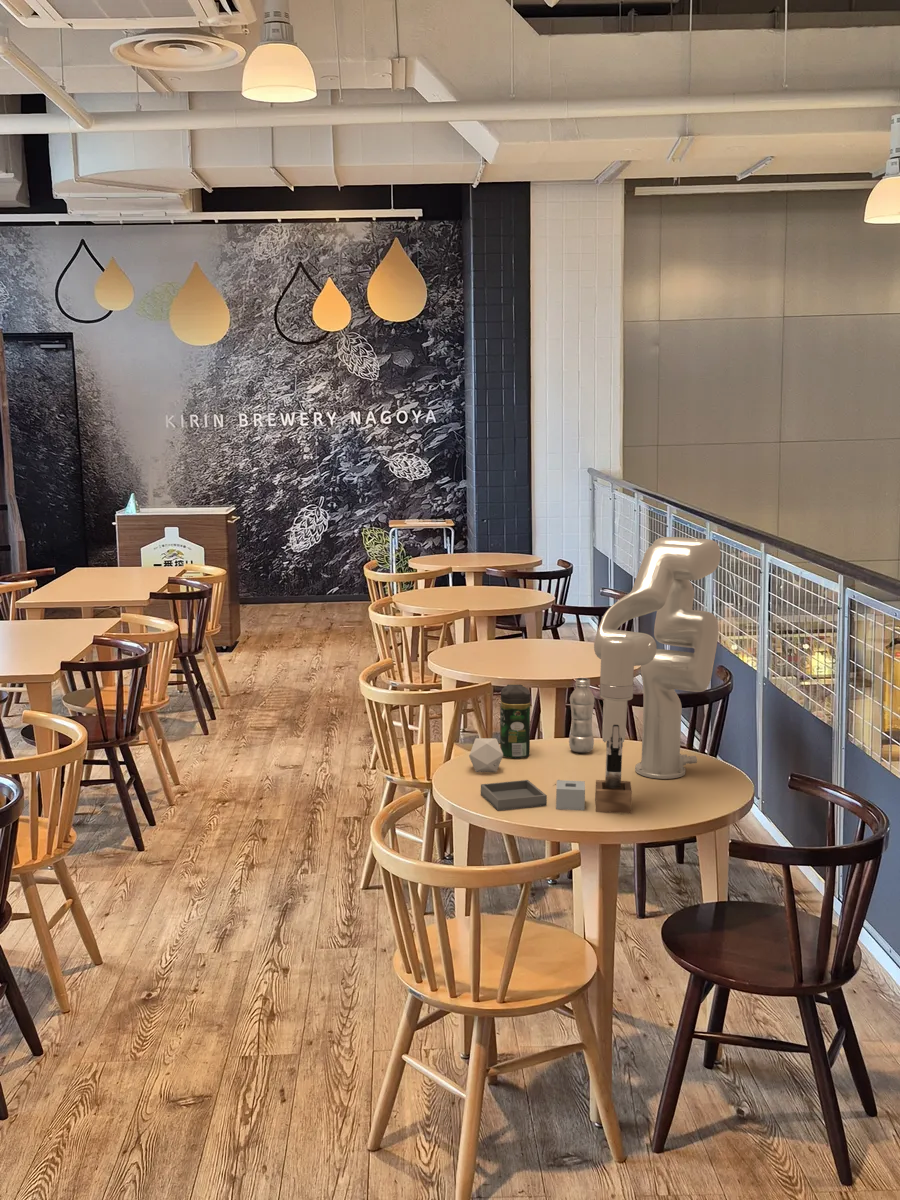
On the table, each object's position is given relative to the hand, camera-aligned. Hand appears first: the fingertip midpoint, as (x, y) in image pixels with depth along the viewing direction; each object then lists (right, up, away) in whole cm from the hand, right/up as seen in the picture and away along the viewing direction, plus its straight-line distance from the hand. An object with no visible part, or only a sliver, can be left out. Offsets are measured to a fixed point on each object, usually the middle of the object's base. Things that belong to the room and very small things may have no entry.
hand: (613, 768), depth 266 cm
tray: (-23, -8, +6) cm, 25 cm away
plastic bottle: (-2, -2, +45) cm, 45 cm away
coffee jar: (-20, -3, +42) cm, 47 cm away
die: (-29, -5, +28) cm, 41 cm away
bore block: (0, -9, +2) cm, 9 cm away
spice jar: (0, -4, +1) cm, 4 cm away
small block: (-10, -9, +3) cm, 14 cm away
